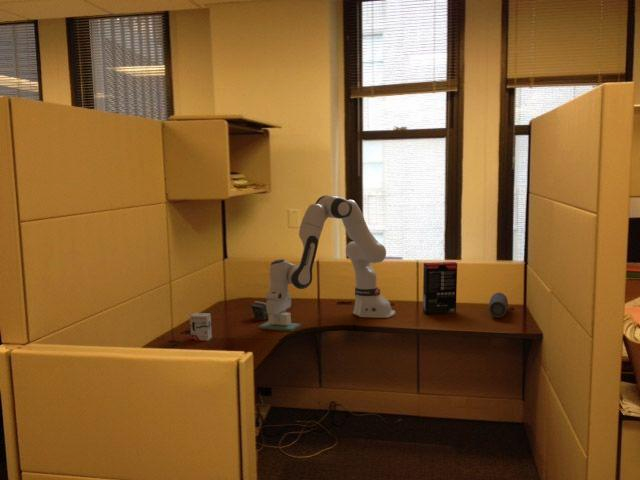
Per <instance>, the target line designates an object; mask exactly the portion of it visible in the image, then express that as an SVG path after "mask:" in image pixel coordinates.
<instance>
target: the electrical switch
mask: <svg viewBox="0 0 640 480" xmlns="http://www.w3.org/2000/svg"><path fill="white" fill-rule="evenodd" d="M251 310H252V312H253V316H254V318H255V319H258V320H261V321H266V320H269V316H268V314H267V307H266V302H263V301H257V300H255V301H253V304H251Z"/></svg>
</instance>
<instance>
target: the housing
mask: <svg viewBox="0 0 640 480" xmlns="http://www.w3.org/2000/svg"><path fill="white" fill-rule="evenodd" d="M291 315H292V313H291V312H279V313H278V318H279V321H278V322H275V318H274V316H273V315H268V316H269V319H268V321H269V324H280V325H288V324H290V323H292V317H291Z"/></svg>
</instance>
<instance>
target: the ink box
mask: <svg viewBox="0 0 640 480" xmlns="http://www.w3.org/2000/svg"><path fill="white" fill-rule="evenodd" d="M211 315H212V314H211V313H209V312H207V313H206V312H202V313H201V312H195V313H194V312H193V313H192V314H191V315H189V323H190V324H189V325H190V340H191V339H195V340H194V341H204V340H205V341H206V342H207V341H209V340H211V339H213V338H212V316H211Z"/></svg>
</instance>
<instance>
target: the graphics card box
mask: <svg viewBox="0 0 640 480" xmlns="http://www.w3.org/2000/svg"><path fill="white" fill-rule="evenodd" d="M457 283H458V263H457V262H455V261H445V262H444V261H443V262H441V261H439V262H424V263H423V283H422V285H423V286H422V290H423V291H422V312H423V313H424V314H426V315H436V314H437V315H438V314H439V315H440V314H456V313H457V290H458V289H457Z"/></svg>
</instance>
